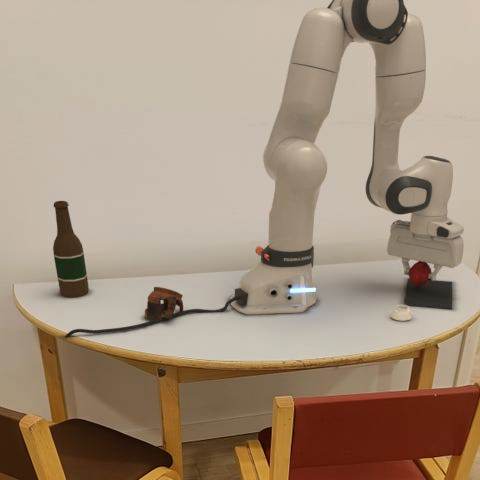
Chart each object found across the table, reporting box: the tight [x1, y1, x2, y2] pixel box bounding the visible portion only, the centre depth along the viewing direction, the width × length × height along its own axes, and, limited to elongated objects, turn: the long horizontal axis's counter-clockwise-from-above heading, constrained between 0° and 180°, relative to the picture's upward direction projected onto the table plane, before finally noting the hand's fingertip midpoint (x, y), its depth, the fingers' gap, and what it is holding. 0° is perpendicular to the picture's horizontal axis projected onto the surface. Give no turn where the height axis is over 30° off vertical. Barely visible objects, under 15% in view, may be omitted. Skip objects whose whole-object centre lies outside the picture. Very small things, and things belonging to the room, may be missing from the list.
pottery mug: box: [144, 286, 184, 323], centre depth 148 cm, size 12×10×8 cm
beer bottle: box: [52, 200, 90, 298], centre depth 158 cm, size 8×8×24 cm
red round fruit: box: [408, 261, 432, 287], centre depth 161 cm, size 6×6×8 cm
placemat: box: [403, 277, 453, 311], centre depth 162 cm, size 22×12×1 cm, turn 163°
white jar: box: [390, 304, 413, 322], centre depth 146 cm, size 5×3×5 cm
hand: (419, 277), depth 162 cm, fingers closed on red round fruit, 6 cm apart
